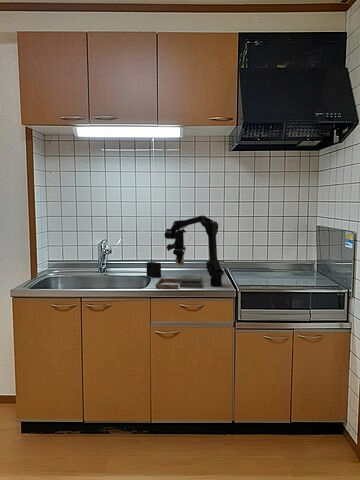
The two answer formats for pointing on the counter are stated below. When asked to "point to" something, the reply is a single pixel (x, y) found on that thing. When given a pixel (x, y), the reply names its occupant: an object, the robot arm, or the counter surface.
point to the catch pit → (191, 284)
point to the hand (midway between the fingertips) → (179, 262)
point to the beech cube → (181, 261)
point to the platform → (189, 277)
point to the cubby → (167, 282)
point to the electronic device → (153, 269)
